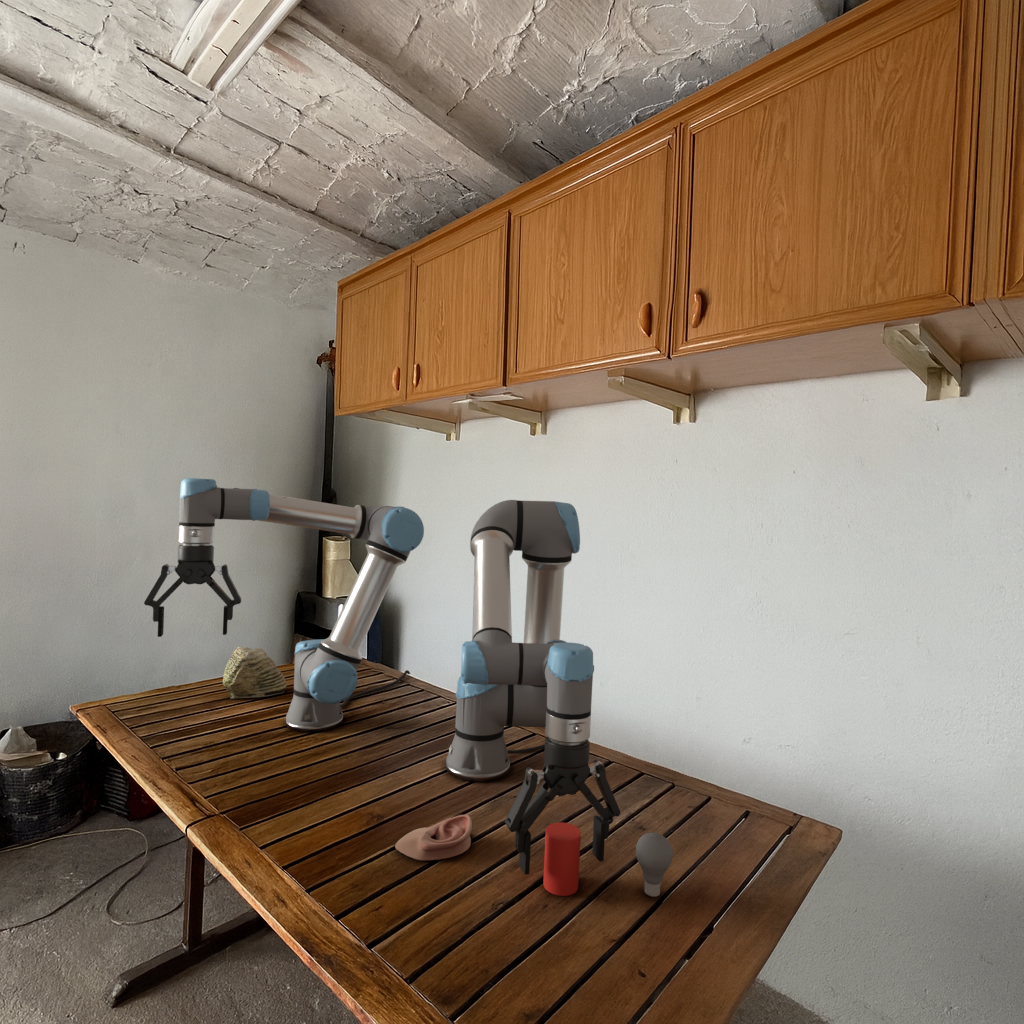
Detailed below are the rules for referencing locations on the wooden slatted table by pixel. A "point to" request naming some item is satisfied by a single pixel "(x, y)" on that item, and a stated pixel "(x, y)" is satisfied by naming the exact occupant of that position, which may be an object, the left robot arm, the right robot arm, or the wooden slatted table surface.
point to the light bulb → (653, 860)
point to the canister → (561, 859)
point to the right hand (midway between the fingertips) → (561, 863)
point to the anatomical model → (438, 839)
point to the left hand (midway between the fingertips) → (193, 634)
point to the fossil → (252, 674)
